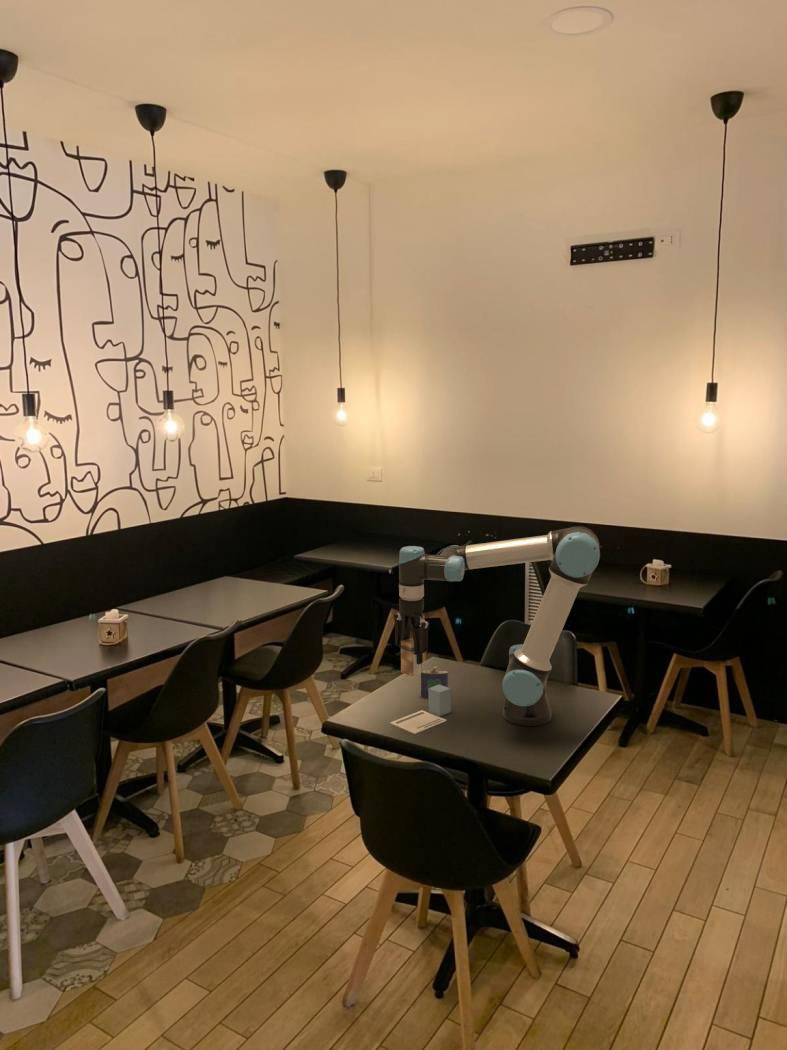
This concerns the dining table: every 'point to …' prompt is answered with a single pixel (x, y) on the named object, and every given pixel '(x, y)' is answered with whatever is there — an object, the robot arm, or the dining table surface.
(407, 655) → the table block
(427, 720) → the menu card
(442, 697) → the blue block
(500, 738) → the dining table surface
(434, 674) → the flask
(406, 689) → the dining table surface
